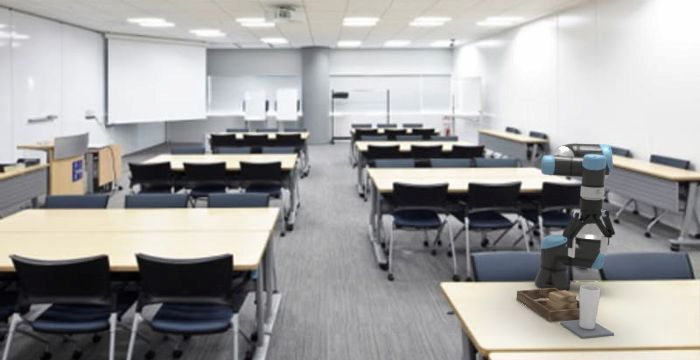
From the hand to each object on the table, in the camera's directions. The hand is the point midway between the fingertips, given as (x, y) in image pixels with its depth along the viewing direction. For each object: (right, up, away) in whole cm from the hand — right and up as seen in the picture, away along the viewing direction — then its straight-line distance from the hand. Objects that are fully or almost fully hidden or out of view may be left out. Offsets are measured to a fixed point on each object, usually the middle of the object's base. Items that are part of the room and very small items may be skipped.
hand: (587, 255), depth 200 cm
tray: (-5, -24, +21) cm, 32 cm away
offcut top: (-4, -20, +14) cm, 25 cm away
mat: (0, -27, +1) cm, 27 cm away
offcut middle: (-4, -23, +15) cm, 28 cm away
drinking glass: (0, -27, +1) cm, 27 cm away
